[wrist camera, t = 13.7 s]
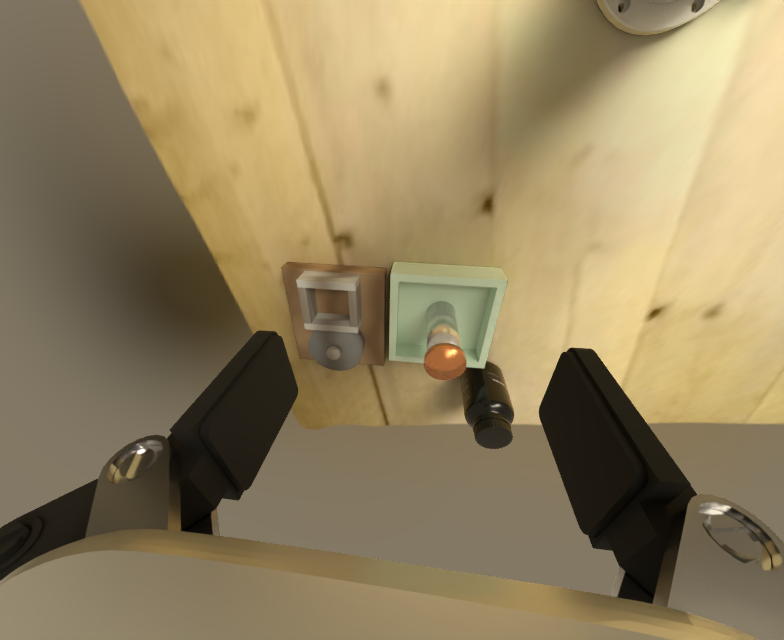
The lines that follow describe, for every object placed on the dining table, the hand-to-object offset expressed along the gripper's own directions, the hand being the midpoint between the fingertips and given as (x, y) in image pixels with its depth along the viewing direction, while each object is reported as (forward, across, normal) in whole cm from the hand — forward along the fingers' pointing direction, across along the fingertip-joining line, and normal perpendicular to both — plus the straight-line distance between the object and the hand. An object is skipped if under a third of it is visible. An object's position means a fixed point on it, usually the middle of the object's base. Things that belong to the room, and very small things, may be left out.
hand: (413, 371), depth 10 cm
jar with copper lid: (+27, -2, +15) cm, 31 cm away
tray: (+28, -2, +15) cm, 32 cm away
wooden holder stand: (+28, +13, +16) cm, 35 cm away
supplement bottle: (+28, -10, +27) cm, 40 cm away
